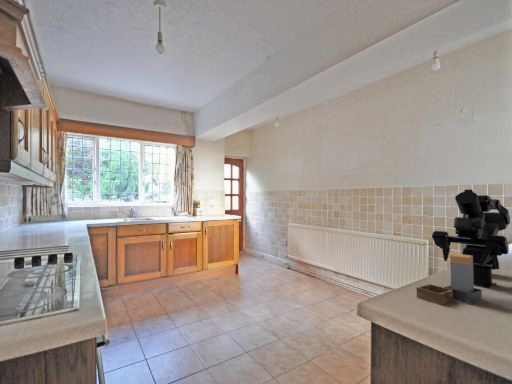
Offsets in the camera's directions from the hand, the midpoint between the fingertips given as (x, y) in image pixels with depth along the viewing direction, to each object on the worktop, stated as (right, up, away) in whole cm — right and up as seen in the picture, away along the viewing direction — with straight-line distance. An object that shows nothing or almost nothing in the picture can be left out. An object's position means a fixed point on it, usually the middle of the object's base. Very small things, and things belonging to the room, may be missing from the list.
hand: (462, 263), depth 82 cm
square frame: (-9, -11, -1) cm, 14 cm away
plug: (-1, -11, -1) cm, 11 cm away
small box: (+24, -11, +26) cm, 37 cm away
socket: (-1, -10, -1) cm, 11 cm away
